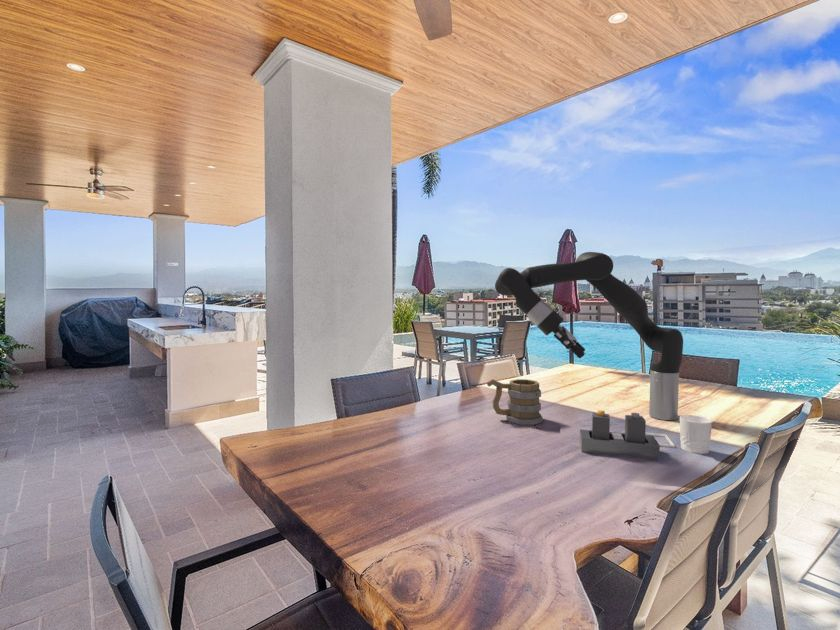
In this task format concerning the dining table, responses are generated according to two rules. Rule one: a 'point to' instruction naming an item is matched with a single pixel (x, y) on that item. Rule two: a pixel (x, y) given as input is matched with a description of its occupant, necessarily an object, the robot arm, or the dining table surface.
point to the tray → (665, 437)
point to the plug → (600, 425)
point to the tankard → (519, 401)
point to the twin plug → (635, 428)
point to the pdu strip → (619, 445)
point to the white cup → (695, 433)
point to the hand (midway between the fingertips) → (582, 354)
